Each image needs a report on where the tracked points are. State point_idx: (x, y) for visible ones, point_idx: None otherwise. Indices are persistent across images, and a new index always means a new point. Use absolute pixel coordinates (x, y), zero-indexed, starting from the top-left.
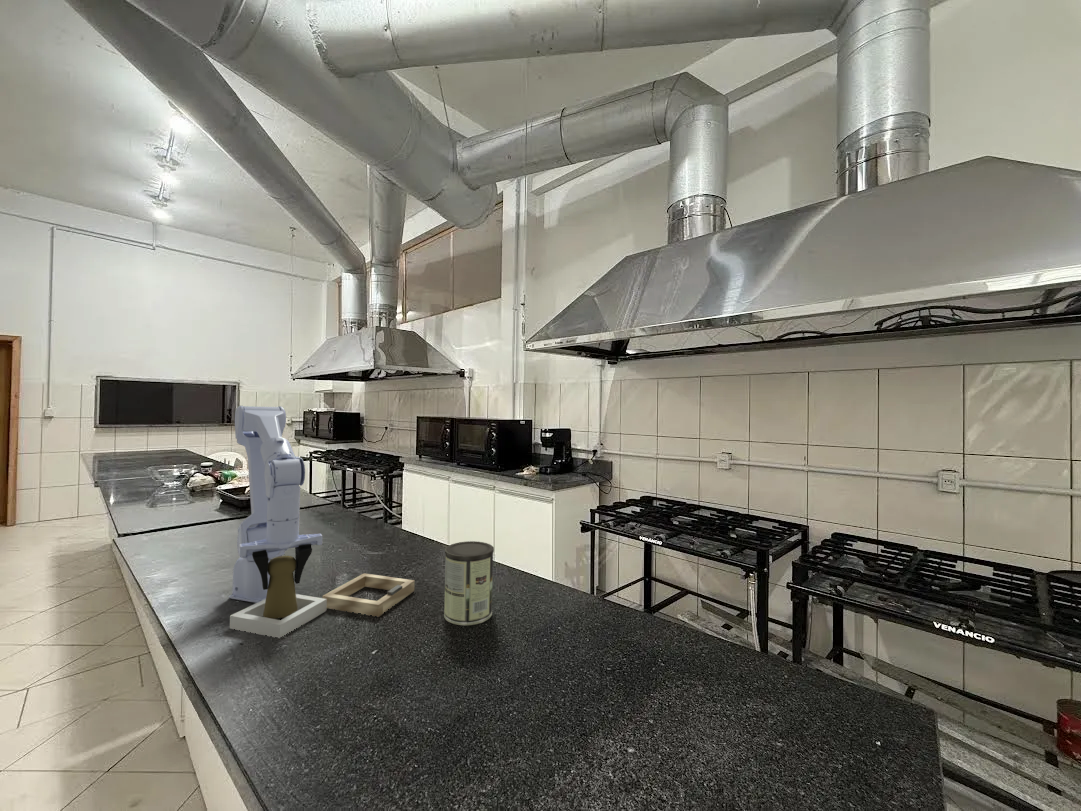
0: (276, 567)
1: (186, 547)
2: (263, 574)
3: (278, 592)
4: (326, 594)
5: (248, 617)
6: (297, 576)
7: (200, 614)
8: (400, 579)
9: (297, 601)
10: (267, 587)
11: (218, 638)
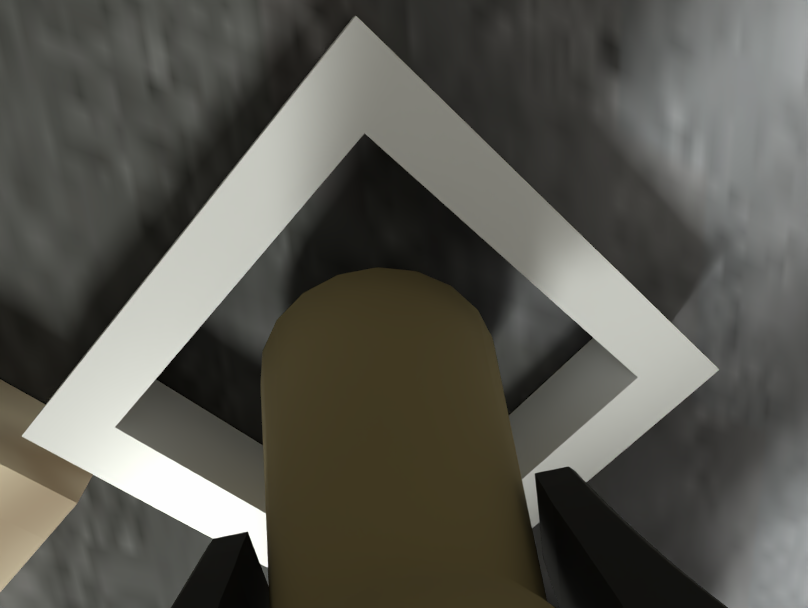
0: None
1: None
2: (681, 600)
3: (418, 410)
4: (47, 519)
5: (607, 290)
6: (212, 596)
7: (788, 548)
8: None
9: None
10: (543, 483)
11: (736, 208)
